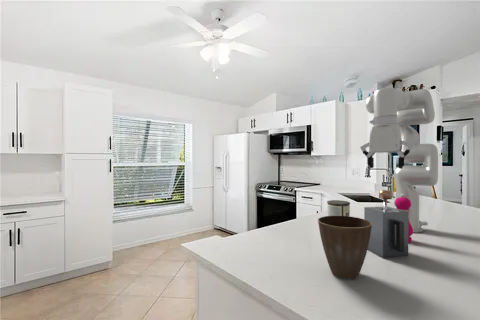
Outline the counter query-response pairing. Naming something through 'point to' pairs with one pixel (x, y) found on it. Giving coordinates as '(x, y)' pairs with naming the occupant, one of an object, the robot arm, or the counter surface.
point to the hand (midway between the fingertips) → (385, 168)
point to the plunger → (385, 197)
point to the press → (388, 231)
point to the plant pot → (345, 243)
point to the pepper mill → (405, 205)
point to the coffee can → (338, 208)
